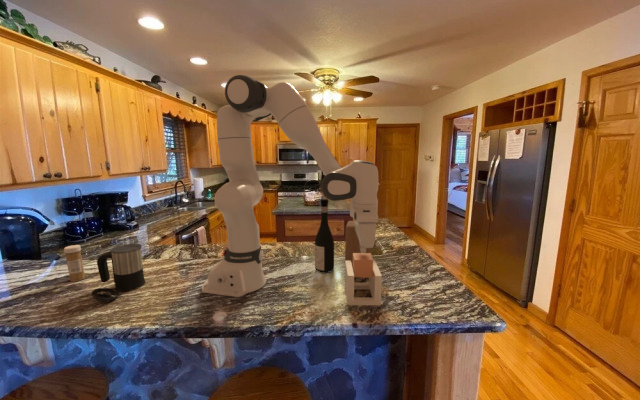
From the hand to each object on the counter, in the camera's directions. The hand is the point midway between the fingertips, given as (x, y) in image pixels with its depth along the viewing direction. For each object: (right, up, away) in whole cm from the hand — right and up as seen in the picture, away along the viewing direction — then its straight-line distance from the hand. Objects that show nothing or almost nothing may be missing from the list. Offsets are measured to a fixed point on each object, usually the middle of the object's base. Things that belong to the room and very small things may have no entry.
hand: (362, 251), depth 86 cm
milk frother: (-85, -16, +6) cm, 86 cm away
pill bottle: (-109, -14, +15) cm, 111 cm away
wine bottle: (-12, -12, +23) cm, 29 cm away
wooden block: (+2, -12, +22) cm, 26 cm away
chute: (0, -15, +3) cm, 16 cm away
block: (0, -8, +1) cm, 8 cm away
